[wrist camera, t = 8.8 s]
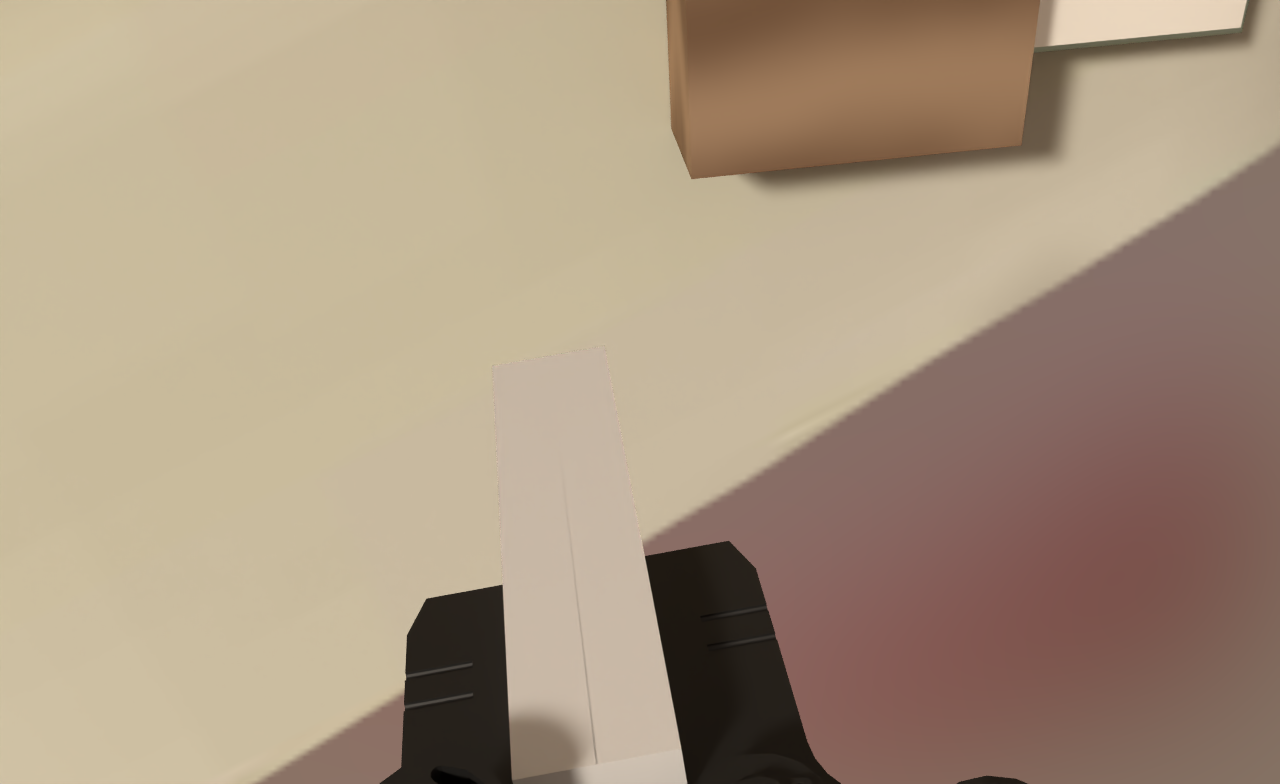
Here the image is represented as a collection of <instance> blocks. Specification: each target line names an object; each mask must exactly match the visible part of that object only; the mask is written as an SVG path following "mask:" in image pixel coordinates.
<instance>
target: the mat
mask: <svg viewBox="0 0 1280 784" xmlns="http://www.w3.org/2000/svg"><path fill="white" fill-rule="evenodd" d="M1248 3H1249V0H1247V2H1246V6H1245V10H1244V15H1243V19H1242V24H1241V28H1230V29H1220V30H1210V31H1199V32H1189V33H1179V34H1168V35H1158V36H1148V37H1137V38H1127V39H1117V40H1107V41H1096V42H1086V43H1076V44H1065V45H1055V46H1045V47H1034V52H1033V53H1036V52H1047V51H1057V50H1067V49H1078V48H1088V47H1098V46H1109V45H1119V44H1130V43H1140V42H1150V41H1161V40H1171V39H1181V38H1192V37H1202V36H1213V35H1223V34H1233V33H1242V29H1243V25H1244V21H1245V16H1246V12H1247V7H1248Z"/></svg>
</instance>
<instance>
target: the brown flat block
mask: <svg viewBox="0 0 1280 784" xmlns="http://www.w3.org/2000/svg"><path fill="white" fill-rule="evenodd" d="M666 6H667V31H668V55H669V80H670V104H671V129H672V131H673V134H674V136H675V139H676V141H677V144H678V146H679V149H680V151H681V154H682V156H683V159H684V161H685V164H686V166H687V169H688V171H689V174H690V176H691V179H697V178H707V177H716V176H726V175H736V174H746V173H756V172H765V171H775V170H785V169H795V168H804V167H814V166H824V165H834V164H844V163H853V162H863V161H873V160H883V159H893V158H902V157H912V156H922V155H932V154H941V153H951V152H961V151H971V150H981V149H990V148H1000V147H1010V146H1020V145H1021V144H1022V136H1023V129H1024V121H1025V113H1026V106H1027V98H1028V90H1029V83H1030V75H1031V67H1032V60H1033V52H1034V45H1035V37H1036V29H1037V22H1038V14H1039V6H1040V0H666Z"/></svg>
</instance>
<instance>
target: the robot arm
mask: <svg viewBox="0 0 1280 784" xmlns="http://www.w3.org/2000/svg"><path fill="white" fill-rule="evenodd" d="M492 370H493V391H494V412H495V433H496V454H497V475H498V496H499V517H500V538H501V559H502V580H503V585H499V586H494V587H488V588H483V589H477V590H472V591H466V592H461V593H455V594H450V595H444V596H439V597H433V598H428V599H426V601H425V602H424V604H423V606H422V608H421V610H420V612H419V614H418V616H417V618H416V619H415V621H414V623H413V625H412V627H411V629H410V631H409V633H408V634H407V648H406V672H405V673H406V680H405V695H404V705H405V711H404V720H403V741H402V765H401V766H402V767H401V768H400V769H399V770H397V771H396V772H395V773H393V774H392V775H391V776H389V777H388V778H386V779H385V780H384V781H382V782H381V783H380V784H841V783H840V782H838V781H837V780H835V779H834V778H833V777H831V776H830V775H829V774H827V772H826V771H825V770H824V769H823V768H822V766H821V765H820V764H819V763H818V762H817V760H816V759H815V757H814V756H813V753H812V751H811V749H810V747H809V744H808V742H807V739H806V736H805V733H804V729H803V726H802V722H801V719H800V716H799V712H798V709H797V706H796V702H795V699H794V695H793V692H792V689H791V685H790V682H789V678H788V675H787V672H786V668H785V665H784V662H783V658H782V655H781V652H780V648H779V645H778V641H777V640H776V637H775V631H774V628H773V625H772V621H771V618H770V615H769V611H768V610H767V606H766V601H765V598H764V594H763V591H762V588H761V585H760V581H759V578H758V574H757V572H756V568H755V567H754V566H753V565H752V564H751V563H750V562H749V561H748V560H747V559H746V558H745V557H744V556H743V555H742V554H741V553H740V552H739V551H738V550H737V549H736V548H735V547H734V546H733V545H732V544H731V542H729V541H726V542H720V543H715V544H709V545H703V546H698V547H693V548H687V549H682V550H676V551H671V552H665V553H660V554H654V555H649V556H645V555H644V550H643V545H642V539H641V534H640V529H639V524H638V518H637V513H636V508H635V503H634V497H633V492H632V487H631V482H630V476H629V471H628V466H627V461H626V455H625V450H624V445H623V439H622V434H621V429H620V424H619V418H618V413H617V408H616V403H615V397H614V392H613V387H612V382H611V376H610V371H609V366H608V361H607V355H606V350H605V346H601V347H595V348H589V349H584V350H578V351H572V352H567V353H561V354H555V355H550V356H544V357H538V358H533V359H527V360H521V361H516V362H510V363H505V364H499V365H493V366H492ZM957 784H1027V783H1025V782H1022V781H1020V780H1017V779H1012V778H1003V777H994V776H983V777H979V778H974V779H970V780H966V781H961V782H959V783H957Z"/></svg>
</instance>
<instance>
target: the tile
mask: <svg viewBox="0 0 1280 784" xmlns="http://www.w3.org/2000/svg"><path fill="white" fill-rule="evenodd" d="M1246 2H1247V0H1040V6H1039V14H1038V22H1037V29H1036V37H1035V45H1034V47H1045V46H1055V45H1065V44H1076V43H1086V42H1096V41H1107V40H1117V39H1127V38H1137V37H1148V36H1158V35H1168V34H1179V33H1189V32H1199V31H1210V30H1220V29H1230V28H1241V24H1242V19H1243V15H1244V10H1245V6H1246Z"/></svg>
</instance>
